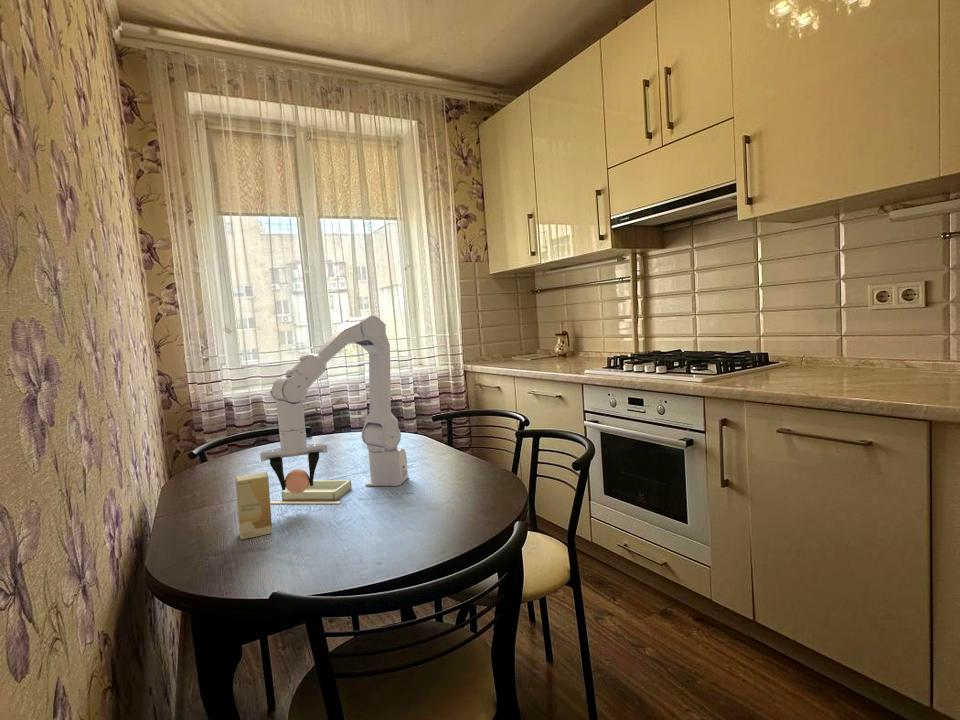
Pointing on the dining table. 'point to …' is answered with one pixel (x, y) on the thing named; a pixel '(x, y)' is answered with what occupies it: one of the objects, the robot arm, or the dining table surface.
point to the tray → (320, 491)
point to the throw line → (305, 502)
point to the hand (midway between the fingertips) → (297, 486)
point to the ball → (297, 481)
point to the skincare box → (253, 505)
